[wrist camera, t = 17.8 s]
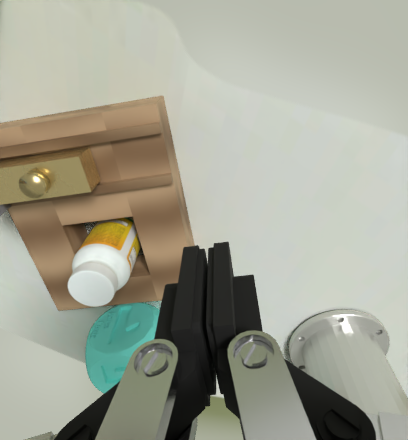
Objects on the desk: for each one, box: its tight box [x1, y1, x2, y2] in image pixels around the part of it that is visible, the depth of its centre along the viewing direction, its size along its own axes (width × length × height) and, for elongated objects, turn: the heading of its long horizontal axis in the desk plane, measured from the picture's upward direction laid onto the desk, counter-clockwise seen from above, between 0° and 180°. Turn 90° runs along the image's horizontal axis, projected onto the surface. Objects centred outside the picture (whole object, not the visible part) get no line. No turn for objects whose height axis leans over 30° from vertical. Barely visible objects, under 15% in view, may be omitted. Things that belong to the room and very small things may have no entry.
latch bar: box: [0, 147, 101, 205], centre depth 27 cm, size 3×8×4 cm, turn 99°
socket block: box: [0, 96, 195, 311], centre depth 32 cm, size 20×16×7 cm
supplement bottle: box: [68, 217, 141, 307], centre depth 32 cm, size 5×5×10 cm
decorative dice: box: [86, 302, 160, 394], centre depth 40 cm, size 8×8×8 cm
